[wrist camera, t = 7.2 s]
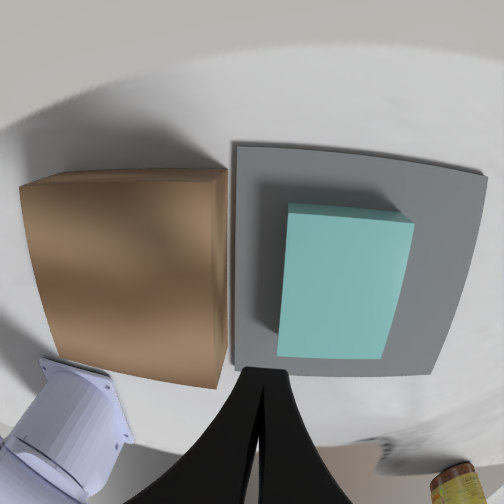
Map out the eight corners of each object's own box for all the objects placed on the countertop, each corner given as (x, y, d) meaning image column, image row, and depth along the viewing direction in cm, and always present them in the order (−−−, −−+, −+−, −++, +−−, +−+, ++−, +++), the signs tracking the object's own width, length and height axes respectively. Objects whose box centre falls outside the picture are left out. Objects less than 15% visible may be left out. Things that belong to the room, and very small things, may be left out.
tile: (276, 356, 17) (277, 334, 19) (380, 359, 17) (373, 338, 19) (288, 213, 14) (288, 202, 16) (414, 223, 14) (401, 212, 16)
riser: (227, 345, 20) (216, 389, 17) (87, 324, 21) (60, 357, 17) (228, 169, 16) (210, 182, 12) (61, 172, 17) (18, 186, 13)
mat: (428, 370, 20) (430, 374, 19) (235, 366, 21) (234, 370, 20) (484, 175, 14) (488, 177, 14) (238, 146, 16) (237, 146, 15)
